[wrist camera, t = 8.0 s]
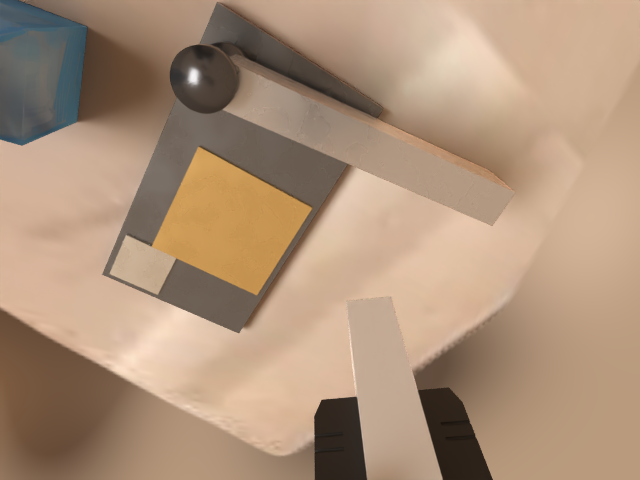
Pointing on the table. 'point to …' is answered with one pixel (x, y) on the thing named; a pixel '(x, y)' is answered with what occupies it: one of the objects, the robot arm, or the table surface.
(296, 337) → the table surface
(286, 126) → the swing arm
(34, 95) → the perfume bottle
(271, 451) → the table surface
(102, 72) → the table surface
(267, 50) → the tray
